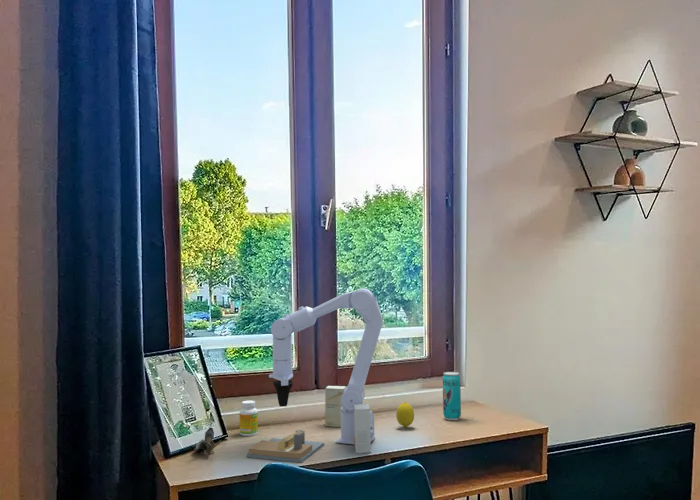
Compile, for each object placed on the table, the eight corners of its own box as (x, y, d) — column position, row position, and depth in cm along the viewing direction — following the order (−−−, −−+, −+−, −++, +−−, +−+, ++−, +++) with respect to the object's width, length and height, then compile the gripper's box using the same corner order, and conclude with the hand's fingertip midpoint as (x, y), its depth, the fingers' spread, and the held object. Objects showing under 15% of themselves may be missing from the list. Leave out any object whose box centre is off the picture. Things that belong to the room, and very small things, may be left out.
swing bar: (298, 442, 173) (297, 429, 173) (306, 443, 172) (306, 430, 172) (277, 455, 162) (276, 441, 162) (285, 456, 161) (285, 442, 161)
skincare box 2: (354, 446, 172) (353, 403, 172) (369, 446, 172) (368, 403, 173) (355, 453, 166) (354, 408, 166) (371, 453, 166) (370, 408, 167)
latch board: (324, 445, 174) (324, 423, 174) (301, 462, 159) (301, 439, 159) (273, 440, 179) (273, 419, 179) (246, 457, 164) (246, 434, 164)
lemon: (394, 429, 190) (393, 403, 190) (399, 424, 195) (399, 399, 195) (411, 430, 188) (411, 404, 188) (416, 426, 193) (416, 400, 193)
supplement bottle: (254, 436, 184) (253, 404, 184) (237, 435, 185) (236, 403, 185) (260, 431, 189) (259, 400, 189) (243, 431, 190) (243, 399, 190)
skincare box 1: (324, 426, 194) (324, 388, 194) (327, 423, 198) (327, 385, 199) (344, 427, 193) (344, 388, 193) (346, 423, 197) (346, 385, 198)
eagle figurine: (228, 450, 166) (219, 436, 174) (215, 432, 163) (206, 418, 171) (204, 469, 164) (196, 454, 172) (190, 450, 161) (183, 435, 169)
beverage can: (439, 418, 202) (438, 372, 203) (451, 416, 206) (451, 370, 206) (452, 422, 198) (451, 375, 198) (464, 419, 201) (463, 373, 201)
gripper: (267, 356, 187) (267, 401, 186) (270, 363, 172) (270, 412, 172) (290, 355, 188) (291, 400, 188) (295, 362, 174) (295, 410, 173)
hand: (283, 405), depth 180 cm, fingers closed
